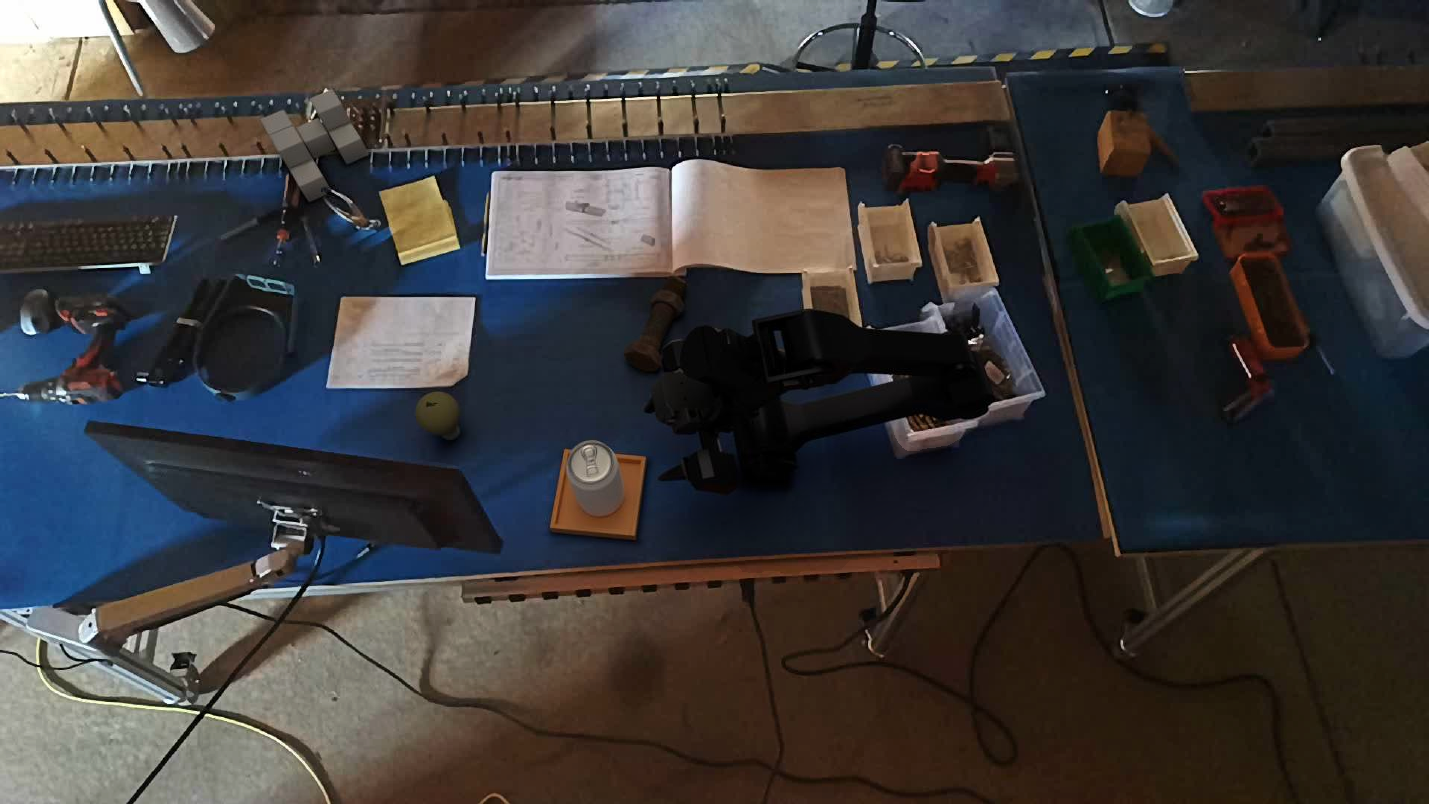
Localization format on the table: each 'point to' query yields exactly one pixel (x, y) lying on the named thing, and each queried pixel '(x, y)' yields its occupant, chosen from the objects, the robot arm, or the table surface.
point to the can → (595, 478)
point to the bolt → (657, 325)
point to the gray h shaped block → (314, 141)
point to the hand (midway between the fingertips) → (653, 445)
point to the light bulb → (439, 414)
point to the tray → (615, 525)
